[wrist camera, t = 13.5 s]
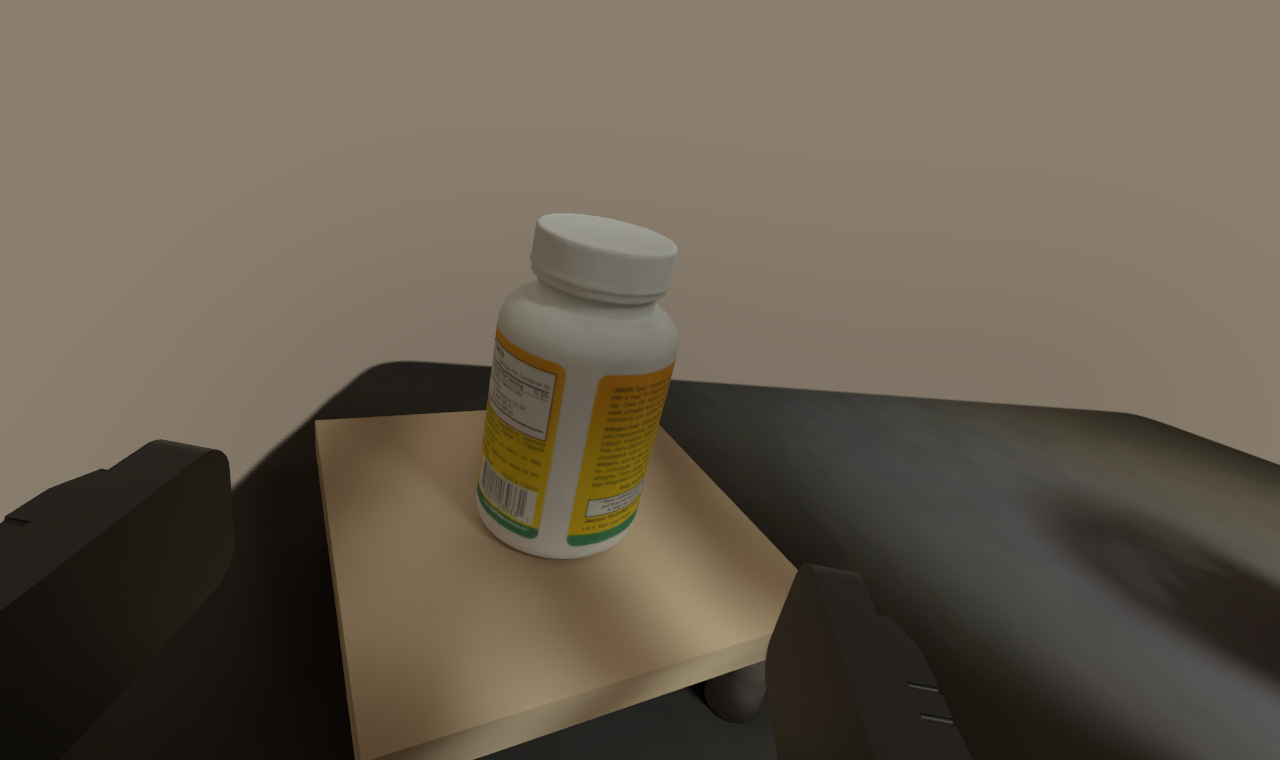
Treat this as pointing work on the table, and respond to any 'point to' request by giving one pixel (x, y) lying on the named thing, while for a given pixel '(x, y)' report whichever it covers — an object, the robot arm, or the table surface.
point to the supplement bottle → (577, 387)
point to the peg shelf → (528, 597)
